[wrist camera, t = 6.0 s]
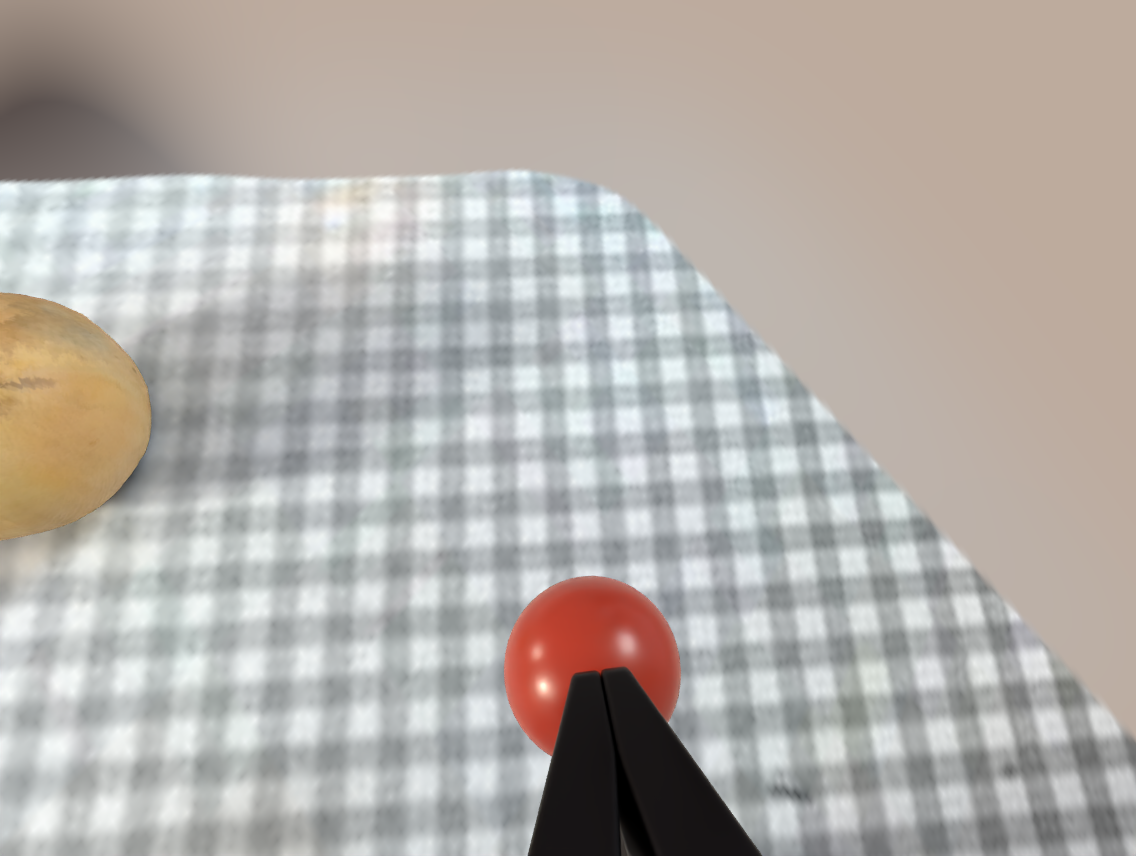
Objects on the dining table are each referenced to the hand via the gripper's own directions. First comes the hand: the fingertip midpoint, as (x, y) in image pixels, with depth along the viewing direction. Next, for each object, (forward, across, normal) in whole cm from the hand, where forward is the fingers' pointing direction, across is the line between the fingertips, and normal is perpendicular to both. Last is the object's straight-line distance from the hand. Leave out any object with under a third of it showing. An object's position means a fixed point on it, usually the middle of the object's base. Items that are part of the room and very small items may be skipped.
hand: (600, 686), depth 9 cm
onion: (+15, +17, +2) cm, 23 cm away
